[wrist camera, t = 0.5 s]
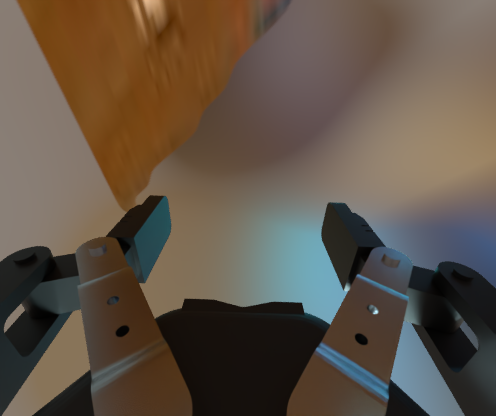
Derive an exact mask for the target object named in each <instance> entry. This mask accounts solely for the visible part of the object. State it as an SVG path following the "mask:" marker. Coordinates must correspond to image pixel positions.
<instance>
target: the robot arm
mask: <svg viewBox="0 0 496 416" xmlns="http://www.w3.org/2000/svg"><path fill="white" fill-rule="evenodd" d="M170 232H171V219H170V212H169V205H168V199H167V197H166V196H153V195H150V196H149V197H148V198H147V199H146V200H145V202H144V203H143V204H142V205H137V206H135V207H134V208H132V209H130V210H129V211H128V212H127V213H126V214H125V216H124V217H123V218H122V219H121V220H120V222H118V223H117V224H116V226H115V227H114V228H113V229H112V230H111V231H110V232H109V233H108V235H107V236H106V237H100V238H95V239H92V240H90V241H87V242H86V243H84V244H82V245H81V246H80V247H79V248H78V249H77V250H76V253H75V254H68V255H62V256H56V257H53V255H52V253H51V251H50V249H49V248H47V247H44V246H35V247H30V248H26V249H22V250H20V251H17V252H15V253H13V254H11V255H9V256H8V257H6V258H5V259H3V261H1V262H0V416H2V414H3V412H4V411H5V410H6V408H7V407H8V405H9V404H10V402H11V401H12V399H13V398H14V396H15V395H16V394H17V392H18V391H19V389H20V388H21V386H22V385H23V383H24V382H25V380H26V379H27V378H28V376H29V375H30V373H31V372H32V370H33V369H34V367H35V366H36V364H37V363H38V361H39V360H40V359H41V357H42V356H43V354H44V353H45V351H46V350H47V348H48V347H49V345H50V344H51V342H52V341H53V340H54V338H55V337H56V335H57V334H58V332H59V331H60V329H61V328H62V326H63V325H64V323H65V322H66V320H67V319H68V318H69V316H70V315H71V313H72V312H73V311H75V310H79V309H81V313H82V318H83V325H84V331H85V337H86V344H87V350H88V356H89V363H90V370H89V371H88V372H86V373H85V374H84V375H83V376H82V377H80V378H79V379H78V380H77V381H75V382H74V383H73V384H71V385H70V386H69V387H68V388H66V389H65V390H64V391H63V392H61V393H60V394H59V395H58V396H56V397H55V398H54V399H53V400H51V401H50V402H49V403H47V404H46V405H45V406H44V407H42V408H41V409H40V410H39V411H37V412H36V413H35V414H34V415H32V416H430V415H429V414H427V413H426V412H425V411H424V410H423V409H422V408H421V407H420V406H419V405H418V404H417V403H416V402H414V401H413V400H412V399H411V398H410V397H409V396H408V395H407V394H406V393H405V392H403V391H402V390H401V389H400V388H399V387H398V386H397V385H396V384H395V383H394V382H393V381H392V380H391V379H390V377H391V373H392V368H393V364H394V360H395V355H396V351H397V347H398V343H399V339H400V334H401V329H402V326H403V321H406V322H410V323H412V325H413V327H414V329H415V330H416V332H417V334H418V336H419V337H420V339H421V340H422V342H423V344H424V346H425V348H426V349H427V351H428V352H429V355H430V356H431V358H432V360H433V361H434V363H435V365H436V367H437V368H438V370H439V372H440V374H441V375H442V377H443V378H444V380H445V382H446V384H447V385H448V387H449V389H450V391H451V392H452V394H453V396H454V398H455V399H456V401H457V403H458V405H459V406H460V408H461V409H462V411H463V413H464V415H465V416H496V288H495V287H494V286H492V285H491V284H490V283H489V282H488V281H487V280H486V279H485V278H484V277H483V276H482V275H480V274H479V273H478V272H476V271H475V270H473V269H471V268H469V267H467V266H464V265H462V264H459V263H455V262H441V263H439V265H438V266H437V268H436V270H435V271H433V270H429V269H425V268H420V267H416V266H413V263H412V261H411V260H410V259H409V258H408V257H407V256H406V255H405V254H403V253H402V252H400V251H398V250H395V249H392V248H388V247H386V246H385V245H384V244H383V243H382V241H381V240H380V239H379V238H378V236H377V235H376V234H375V232H373V230H372V228H371V227H370V226H369V225H368V223H367V222H366V221H365V220H364V219H363V218H362V217H360V216H359V215H357V214H356V213H352V212H351V210H350V209H349V208H348V206H347V205H346V204H345V203H331V202H330V203H328V205H327V208H326V213H325V217H324V221H323V226H322V233H321V234H322V235H321V236H322V241H323V243H324V246H325V248H326V250H327V253H328V255H329V257H330V260H331V262H332V264H333V267H334V269H335V271H336V273H337V276H338V278H339V281H340V283H341V285H342V288H343V290H344V291H348V293H347V295H346V296H345V298H344V300H343V302H342V304H341V306H340V308H339V310H338V312H337V313H336V315H335V317H334V319H333V321H332V323H331V325H330V324H328V323H327V322H325V321H323V320H322V319H320V318H318V317H316V316H313V315H310V314H308V313H304V309H303V305H302V303H294V302H269V303H264V304H259V305H254V306H248V307H239V306H236V305H232V304H227V303H224V302H220V301H217V300H208V299H185V300H184V303H183V306H182V308H181V309H177V310H173V311H170V312H168V313H165V314H163V315H161V316H159V317H157V318H156V319H154V316H153V314H152V312H151V310H150V307H149V305H148V303H147V301H146V298H145V296H144V294H143V292H142V289H141V287H140V285H139V283H145V282H146V280H147V278H148V276H149V274H150V272H151V270H152V268H153V266H154V264H155V262H156V260H157V259H158V257H159V254H160V253H161V251H162V249H163V247H164V245H165V243H166V241H167V239H168V237H169V235H170ZM20 304H22V305H23V307H24V309H25V311H24V312H23V313H22V314H21V315H20V316H19V318H18V319H17V320H16V321H15V322H14V323H13V324H12V325H11V327H10V328H9V329H8V330H7V331H6V332H5V333H4V324H5V322H6V320H7V318H8V317H9V316H10V314H11V313H12V312H13V311H14V310H15V309H16V308H17V307H18V306H19V305H20ZM463 321H465V322H466V323H467V324H468V326H469V327H470V328H471V329H472V331H473V332H474V333H475V335H476V337H477V339H478V344H479V347H478V351H477V349H476V348H475V347H474V346H473V344H472V343H471V342H470V340H469V339H468V338H467V336H466V335H465V334H464V332H463V331H462V330H461V328H460V325H461V324H462V322H463Z"/></svg>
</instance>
